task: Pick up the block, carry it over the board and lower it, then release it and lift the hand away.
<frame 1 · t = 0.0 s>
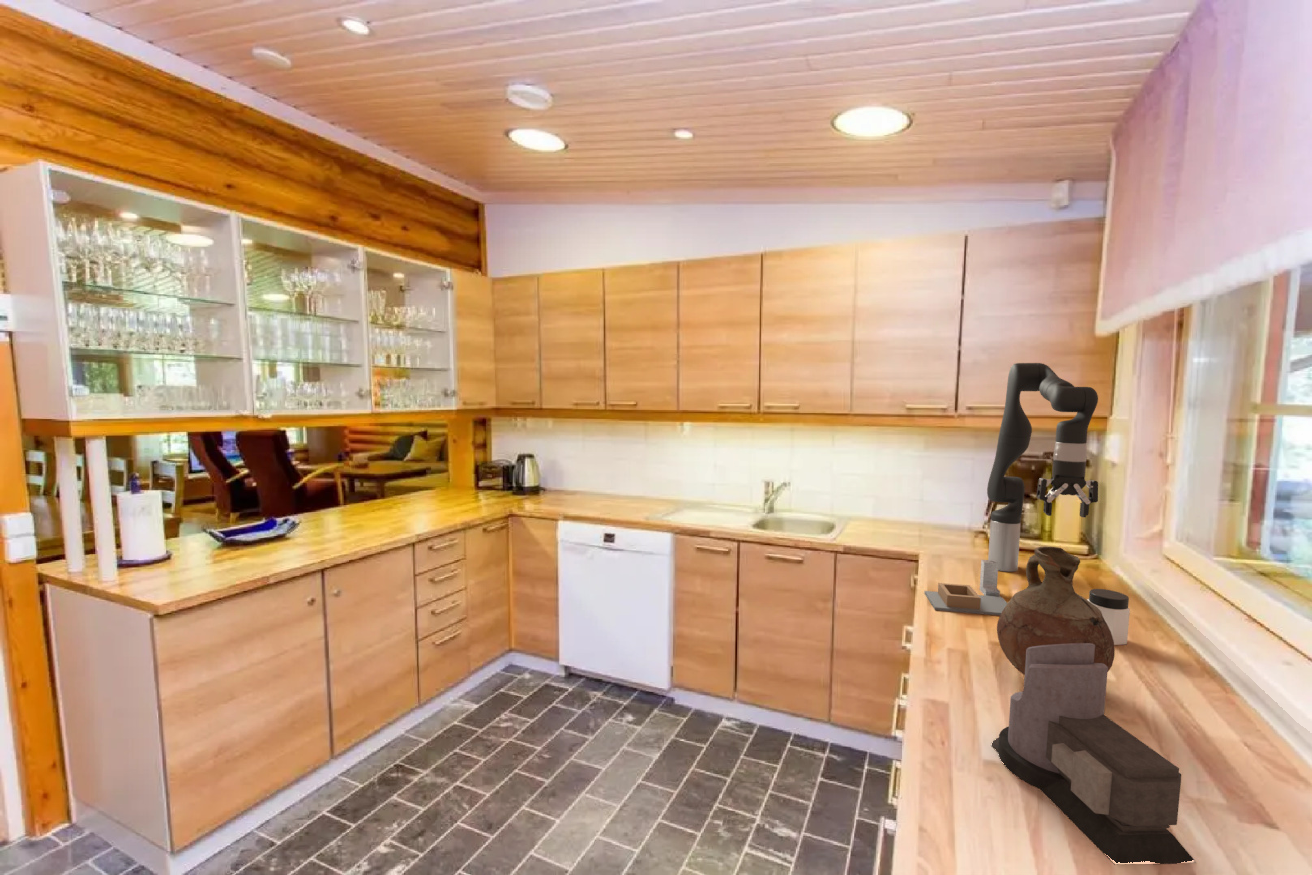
hand: (1065, 516, 163), 29 cm above the worktop, fingers open, 8 cm apart
block: (987, 592, 185), on the worktop
brown blocky piece: (1075, 790, 96), on the worktop
jug: (1049, 683, 129), on the worktop
board: (968, 604, 175), on the worktop
jar: (1105, 639, 152), on the worktop
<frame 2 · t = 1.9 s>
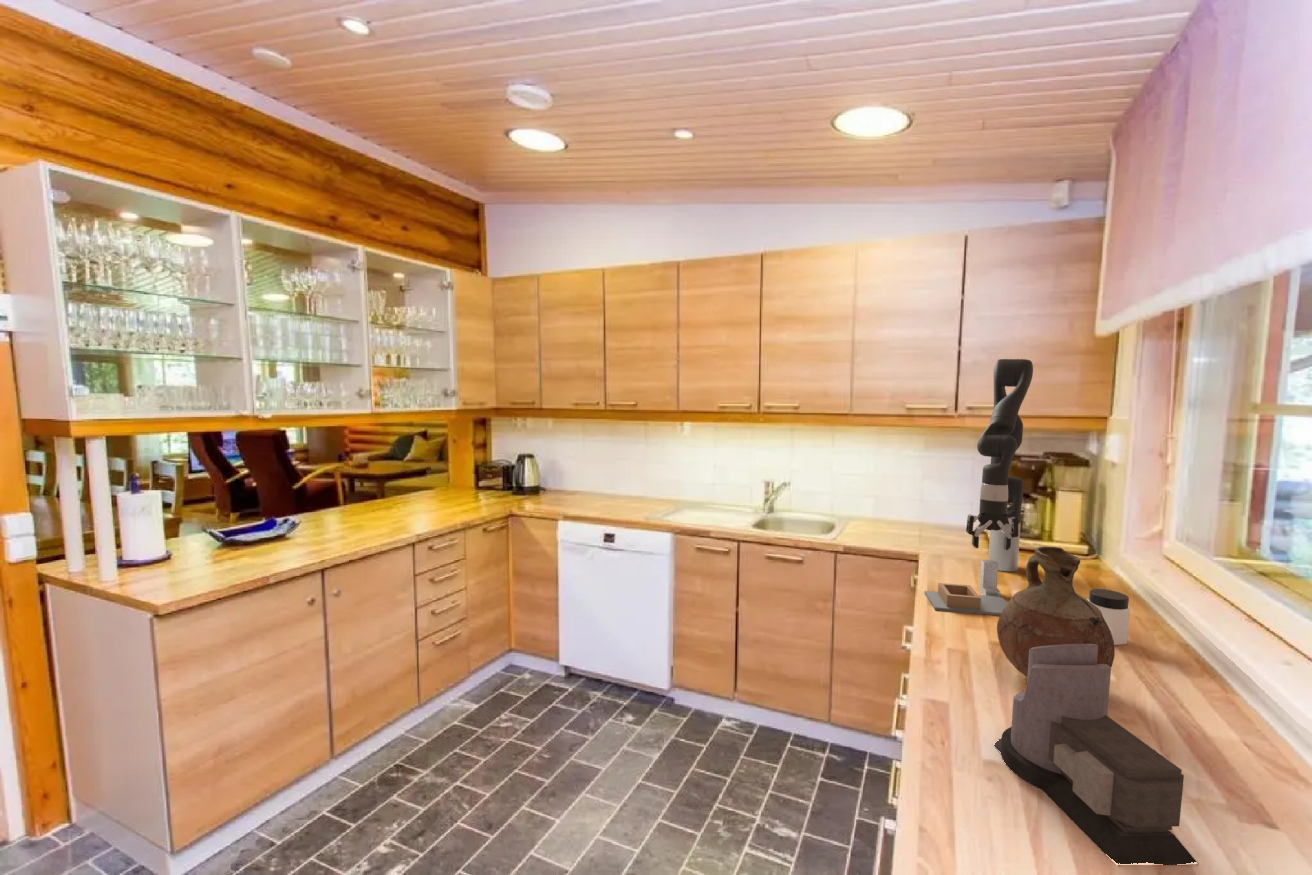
hand: (990, 548, 184), 14 cm above the worktop, fingers open, 8 cm apart
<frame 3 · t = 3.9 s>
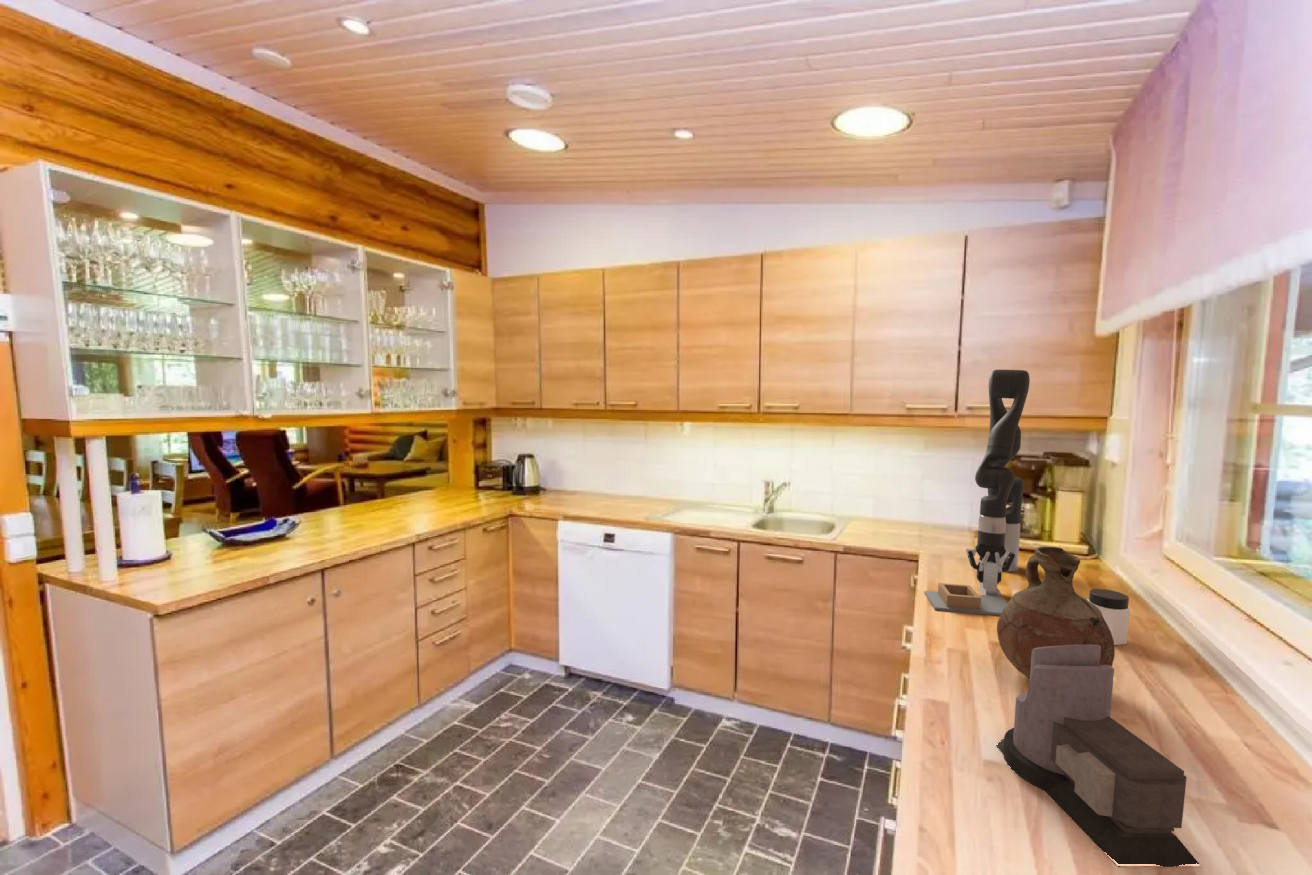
hand: (988, 582, 185), 3 cm above the worktop, fingers closed on block, 4 cm apart
block: (987, 592, 185), on the worktop, touching gripper
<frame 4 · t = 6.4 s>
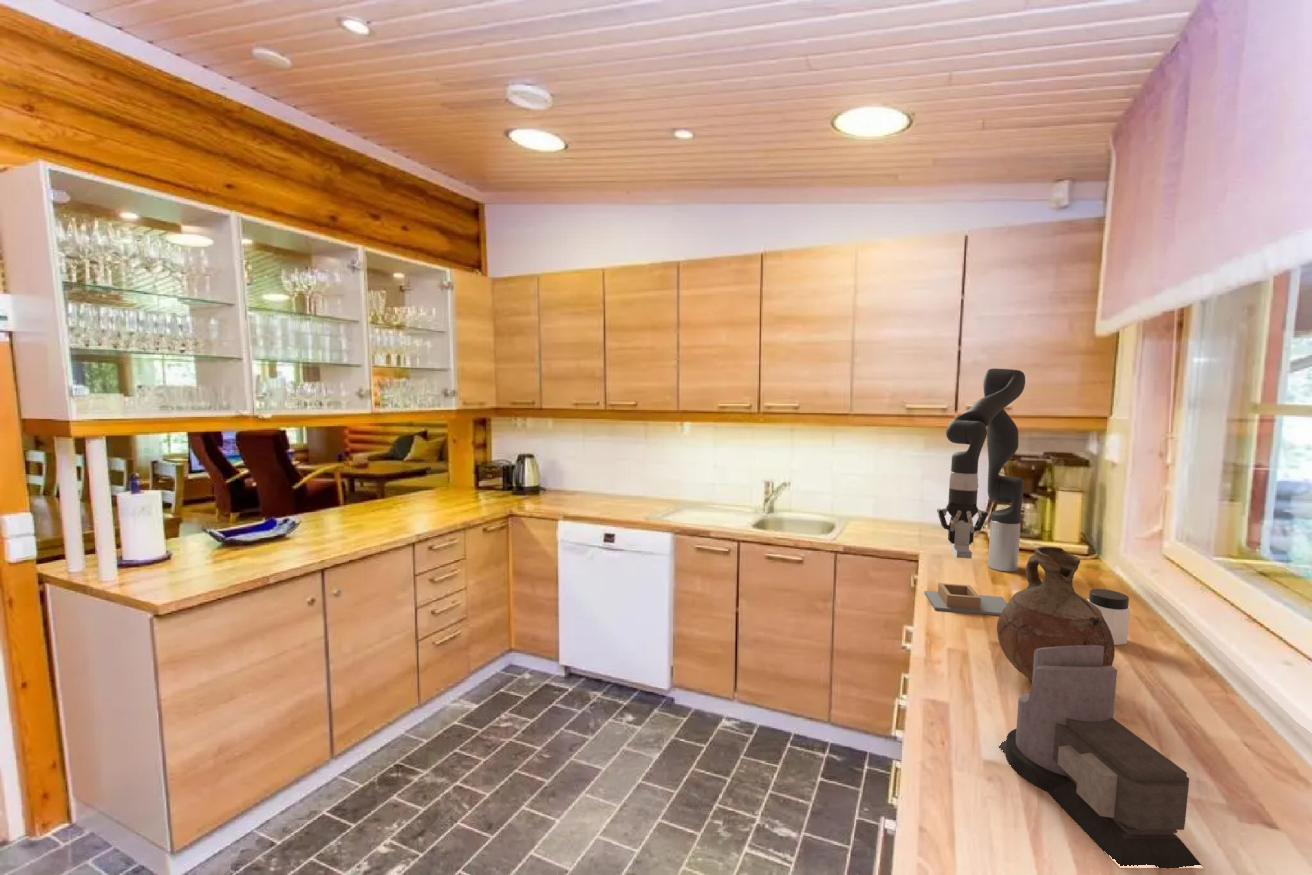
hand: (960, 543, 175), 18 cm above the worktop, fingers closed on block, 4 cm apart
block: (959, 553, 176), point 15 cm above the worktop, touching gripper
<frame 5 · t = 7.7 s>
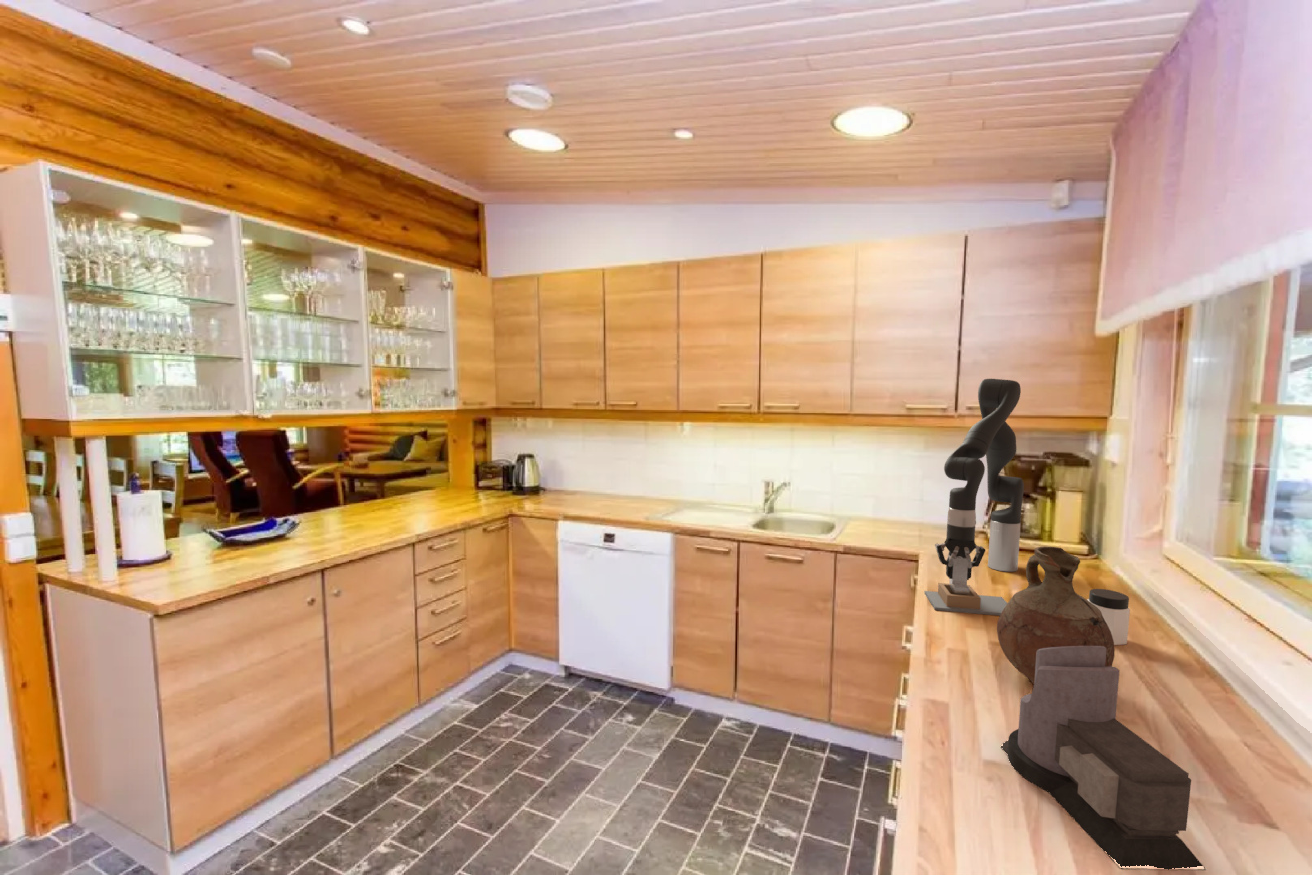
hand: (958, 578, 176), 7 cm above the worktop, fingers closed on block, 4 cm apart
block: (957, 588, 177), point 4 cm above the worktop, touching gripper
when the fingers open (5 cm above the worktop, at t = 8.9 s): block stays where it is, resting on board.
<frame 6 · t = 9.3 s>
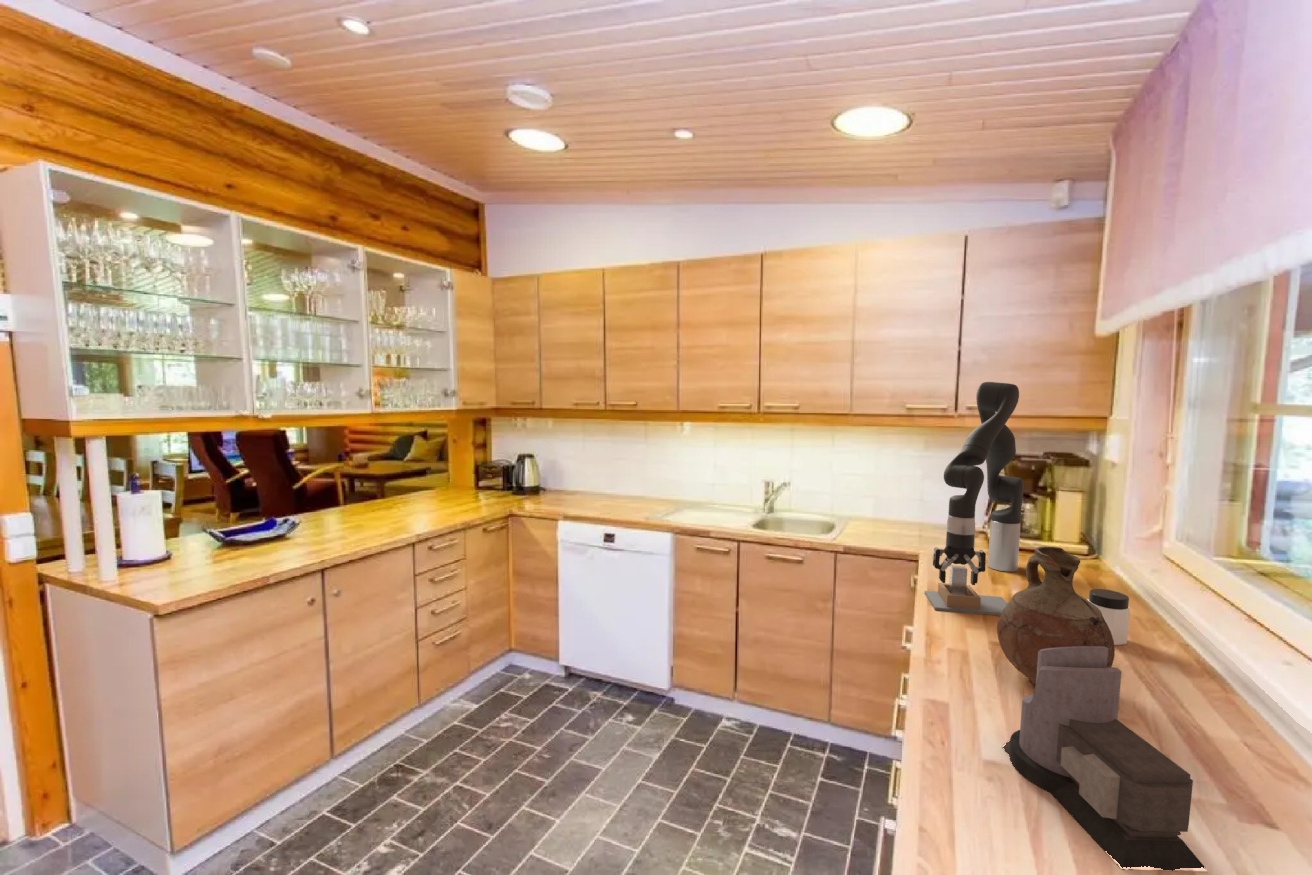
hand: (957, 583, 176), 6 cm above the worktop, fingers open, 8 cm apart
block: (956, 599, 177), point 1 cm above the worktop, touching board
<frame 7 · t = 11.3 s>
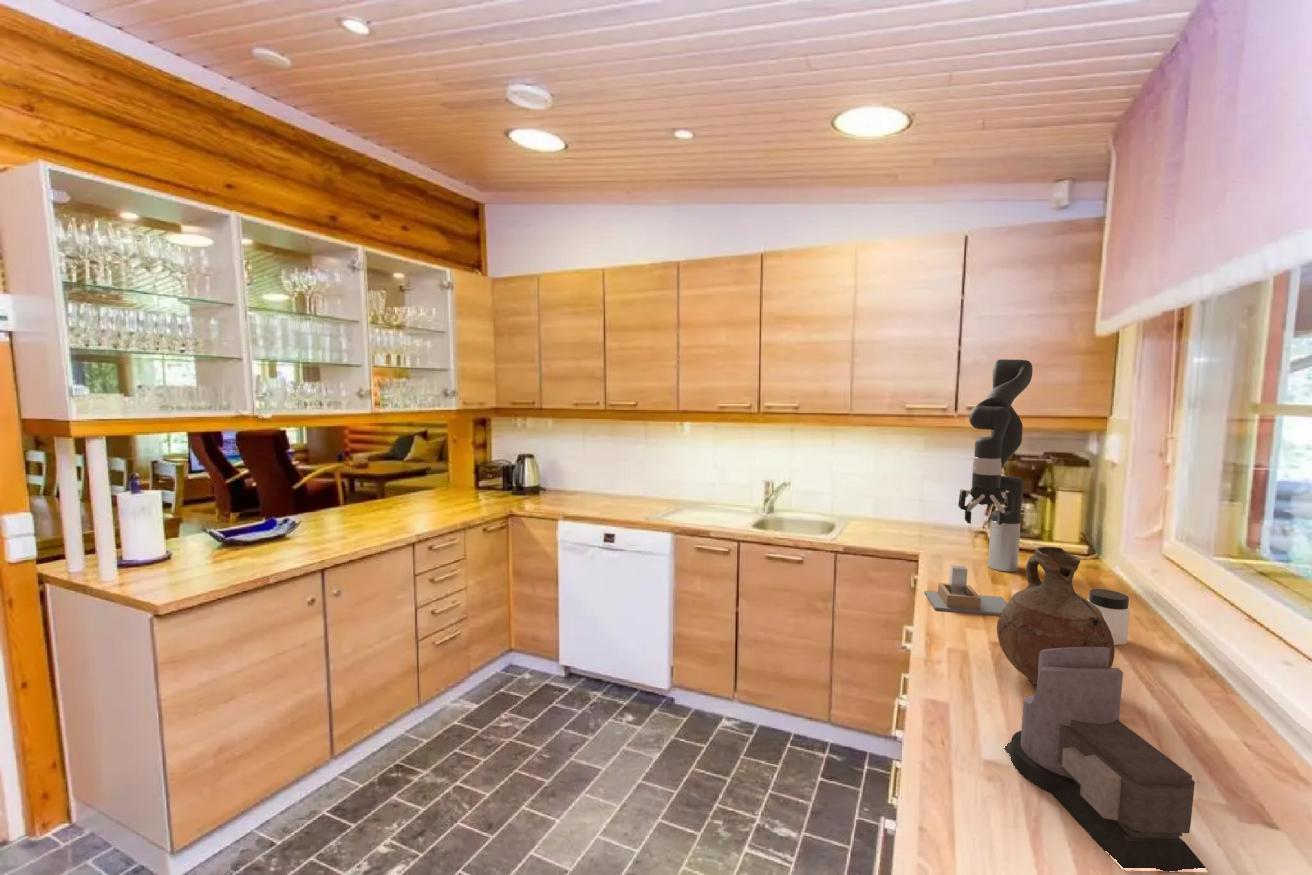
hand: (983, 523, 179), 23 cm above the worktop, fingers open, 8 cm apart
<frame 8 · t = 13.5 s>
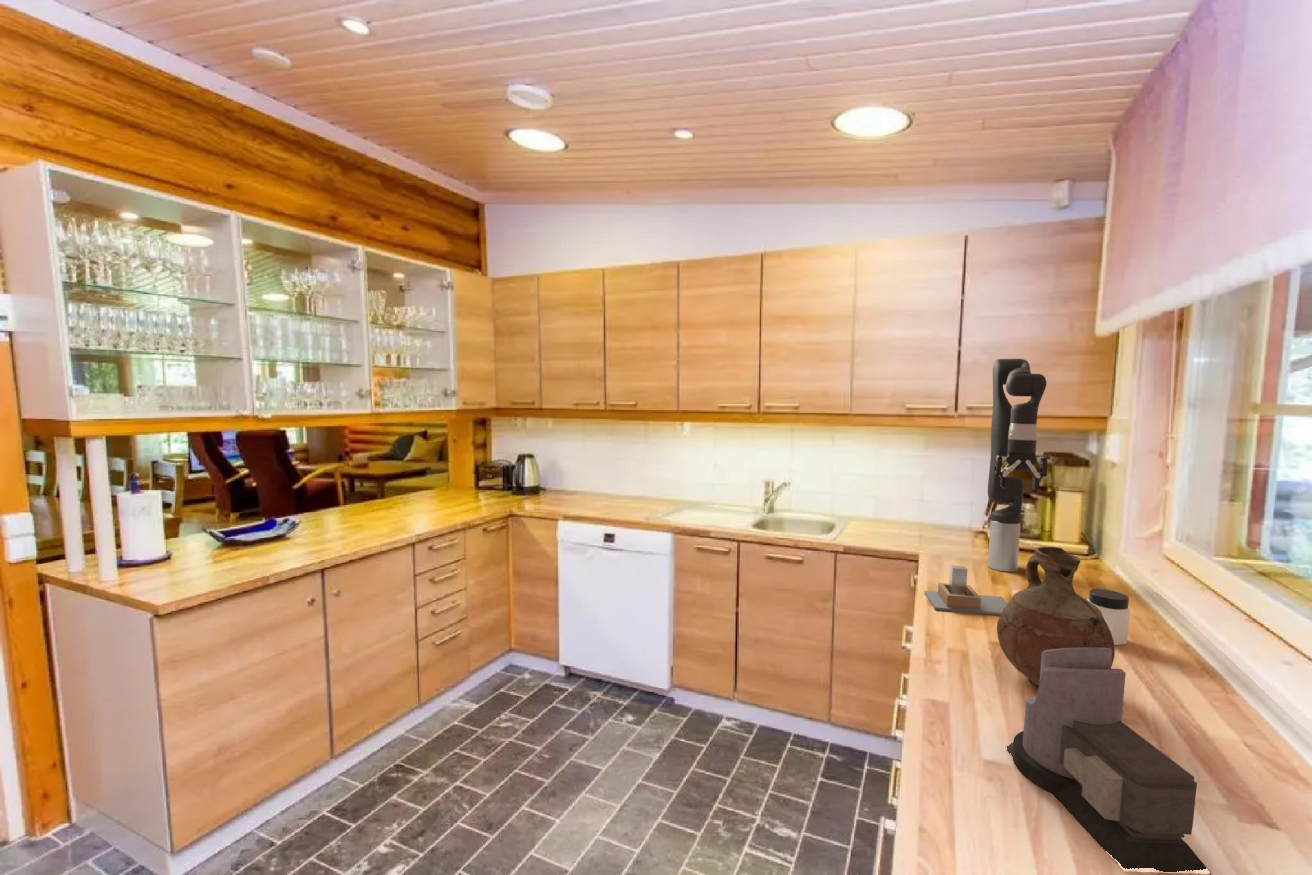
hand: (1019, 489, 183), 33 cm above the worktop, fingers open, 8 cm apart
at the end: block 0.0 cm from the target spot, point 0.8 cm above the worktop; block tilted 0°; the gripper is holding nothing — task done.
